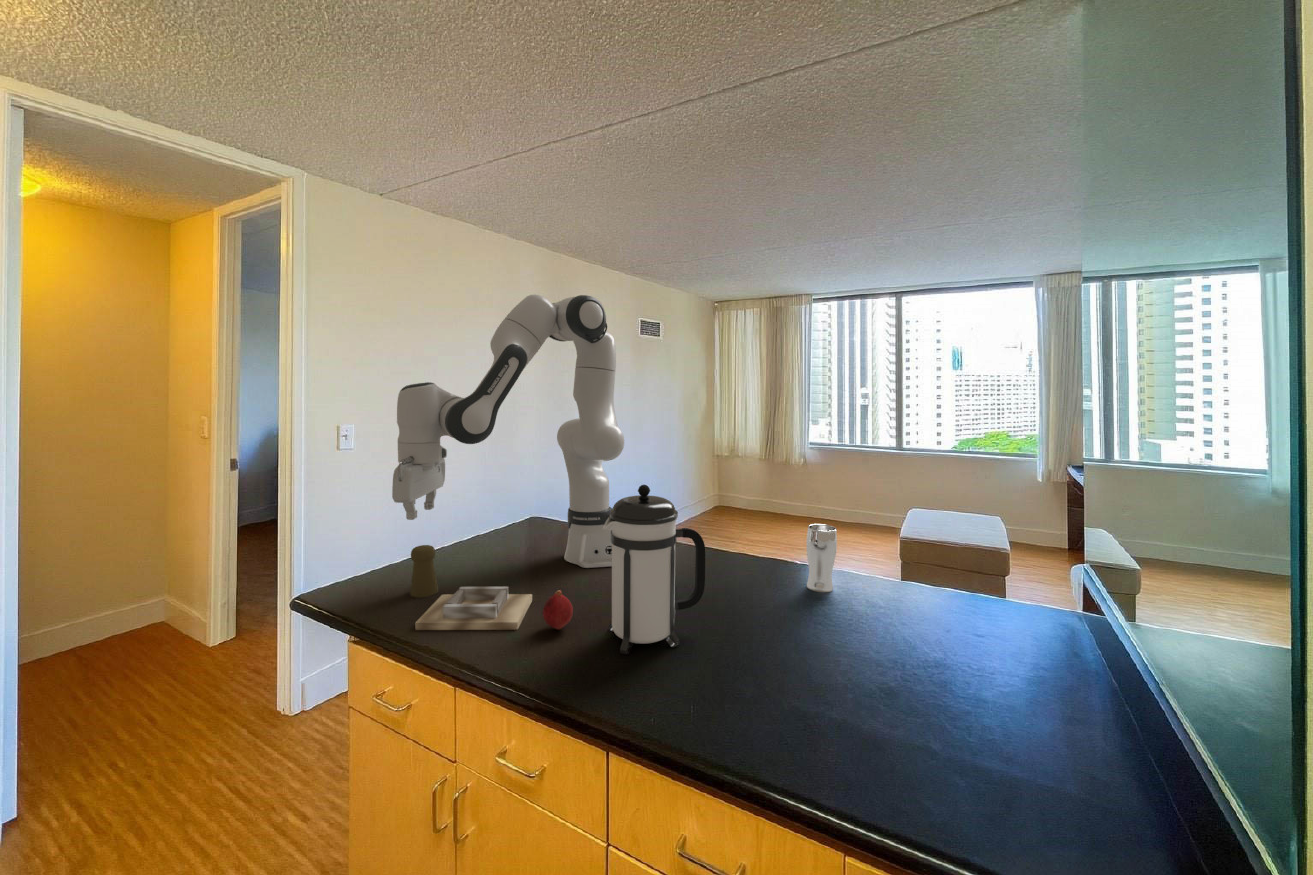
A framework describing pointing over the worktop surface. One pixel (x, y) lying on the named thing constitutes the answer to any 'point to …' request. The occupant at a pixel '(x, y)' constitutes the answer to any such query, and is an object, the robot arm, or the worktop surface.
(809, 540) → the beer glass
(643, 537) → the coffee press
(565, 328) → the robot arm
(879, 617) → the worktop surface
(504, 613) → the collar board
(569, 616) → the red rounded piece
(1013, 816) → the worktop surface
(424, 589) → the cork
